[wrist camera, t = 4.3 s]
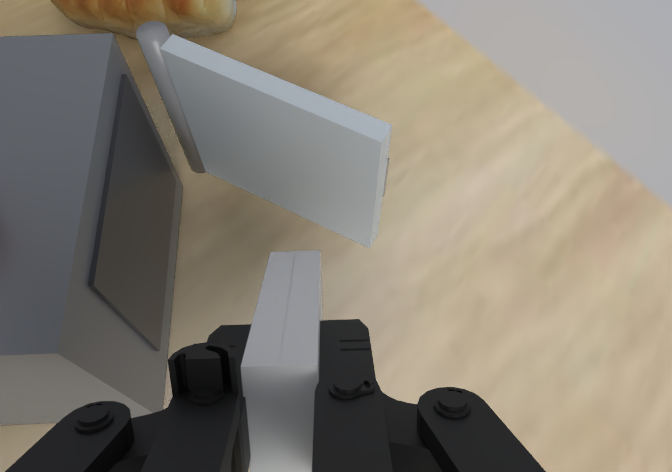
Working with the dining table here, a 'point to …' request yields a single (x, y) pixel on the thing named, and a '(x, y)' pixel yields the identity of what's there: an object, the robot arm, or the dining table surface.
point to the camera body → (81, 232)
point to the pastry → (152, 15)
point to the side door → (272, 135)
